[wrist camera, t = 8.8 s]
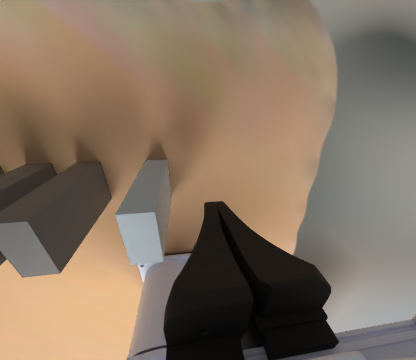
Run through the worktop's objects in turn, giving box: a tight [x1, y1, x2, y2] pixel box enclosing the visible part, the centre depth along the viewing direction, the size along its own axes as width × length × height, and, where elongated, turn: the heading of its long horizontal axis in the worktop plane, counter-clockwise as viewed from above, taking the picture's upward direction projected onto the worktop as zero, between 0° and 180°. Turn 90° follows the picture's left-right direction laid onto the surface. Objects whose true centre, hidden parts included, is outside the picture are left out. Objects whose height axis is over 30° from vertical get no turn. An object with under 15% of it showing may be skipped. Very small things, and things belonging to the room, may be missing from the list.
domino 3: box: [115, 159, 171, 265], centre depth 13 cm, size 2×4×8 cm, turn 179°
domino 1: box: [0, 164, 57, 265], centre depth 12 cm, size 2×4×8 cm, turn 179°
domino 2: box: [0, 162, 112, 278], centre depth 12 cm, size 2×4×8 cm, turn 0°
